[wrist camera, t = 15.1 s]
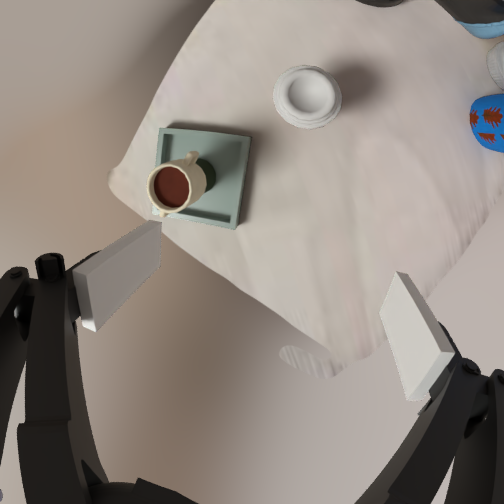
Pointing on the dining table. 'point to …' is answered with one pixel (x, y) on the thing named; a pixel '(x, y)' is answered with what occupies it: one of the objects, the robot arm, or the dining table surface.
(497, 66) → the ramekin
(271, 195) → the dining table surface
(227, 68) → the dining table surface
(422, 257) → the dining table surface
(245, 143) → the tray
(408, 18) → the dining table surface
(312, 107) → the coffee cup
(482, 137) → the thermos
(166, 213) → the character mug
